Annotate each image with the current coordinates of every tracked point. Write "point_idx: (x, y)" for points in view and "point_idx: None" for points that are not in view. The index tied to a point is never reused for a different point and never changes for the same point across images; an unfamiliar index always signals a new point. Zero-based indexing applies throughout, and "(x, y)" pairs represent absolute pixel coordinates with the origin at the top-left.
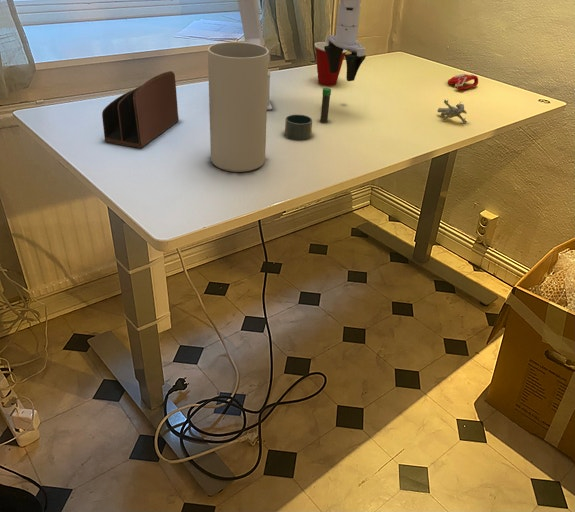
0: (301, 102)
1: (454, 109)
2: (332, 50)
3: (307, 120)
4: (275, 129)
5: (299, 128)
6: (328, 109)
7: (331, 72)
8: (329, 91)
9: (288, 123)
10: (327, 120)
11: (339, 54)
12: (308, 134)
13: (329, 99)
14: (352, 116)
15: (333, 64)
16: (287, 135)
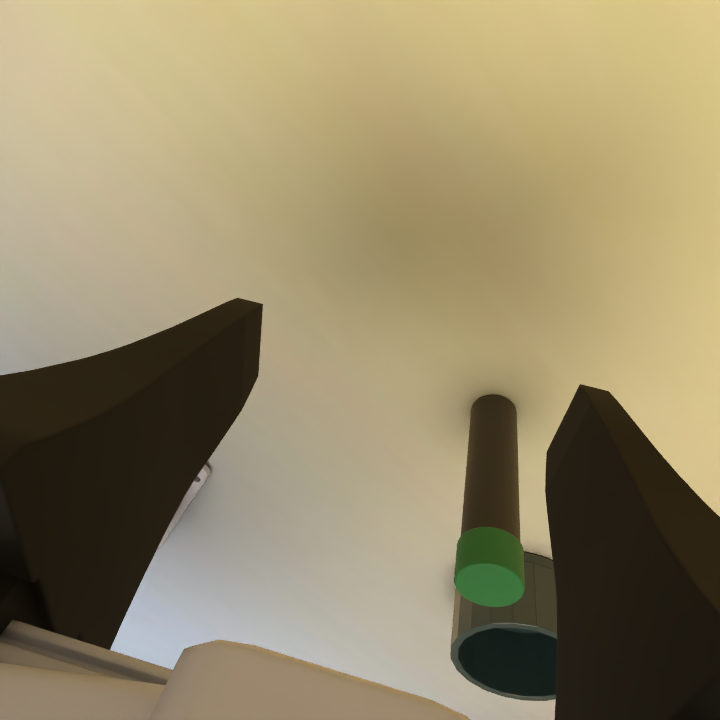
0: (168, 272)
1: None
2: (97, 611)
3: (530, 613)
4: (407, 594)
5: None
6: (517, 465)
7: (254, 383)
8: (523, 585)
9: (506, 689)
10: (516, 415)
11: (132, 437)
12: None
13: (518, 518)
14: (579, 200)
15: (212, 423)
16: (503, 631)
